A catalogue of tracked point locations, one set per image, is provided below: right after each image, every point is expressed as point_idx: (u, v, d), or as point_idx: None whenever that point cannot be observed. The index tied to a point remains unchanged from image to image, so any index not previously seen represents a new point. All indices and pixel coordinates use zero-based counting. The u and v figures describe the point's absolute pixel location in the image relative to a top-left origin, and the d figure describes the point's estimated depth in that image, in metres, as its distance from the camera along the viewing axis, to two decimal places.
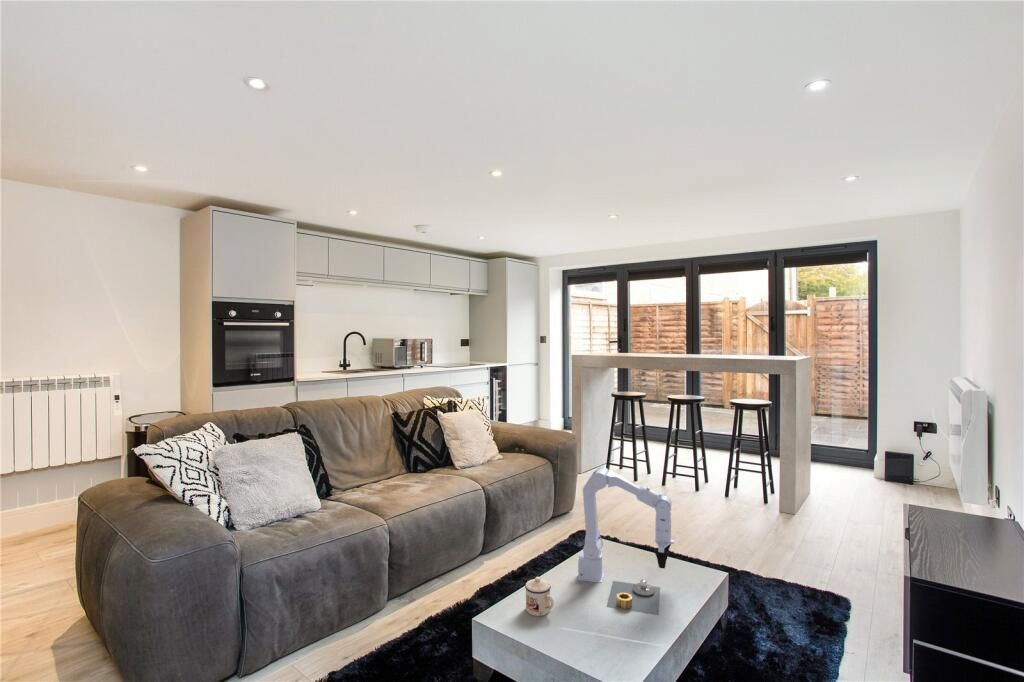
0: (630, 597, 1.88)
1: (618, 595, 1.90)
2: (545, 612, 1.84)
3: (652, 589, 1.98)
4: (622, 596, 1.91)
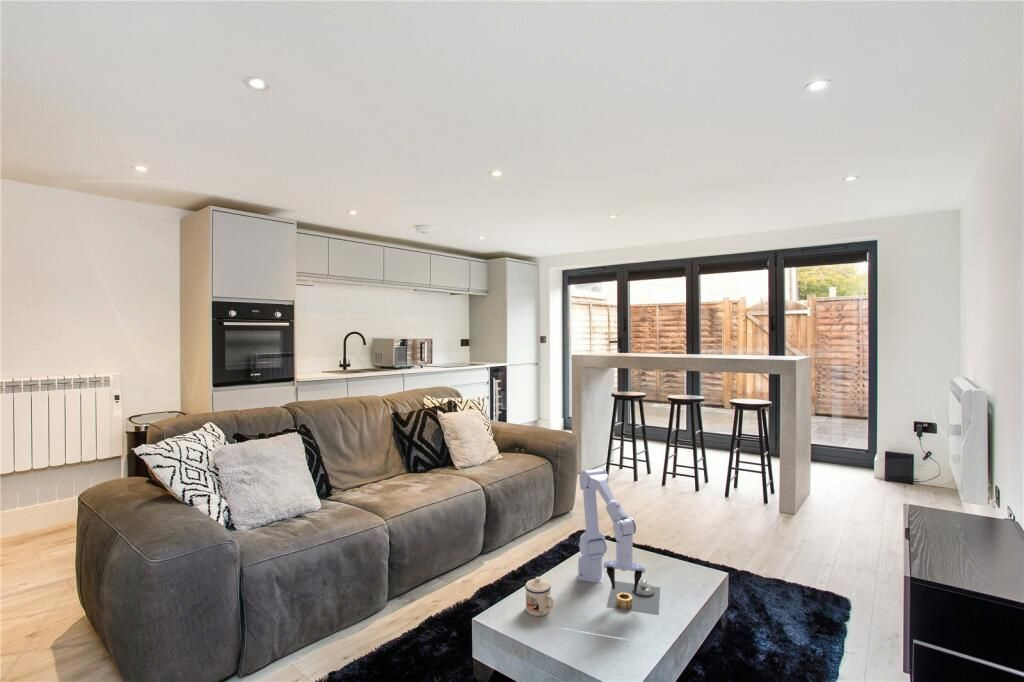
0: (630, 597, 1.88)
1: (618, 595, 1.90)
2: (545, 612, 1.84)
3: (652, 589, 1.98)
4: (622, 596, 1.91)
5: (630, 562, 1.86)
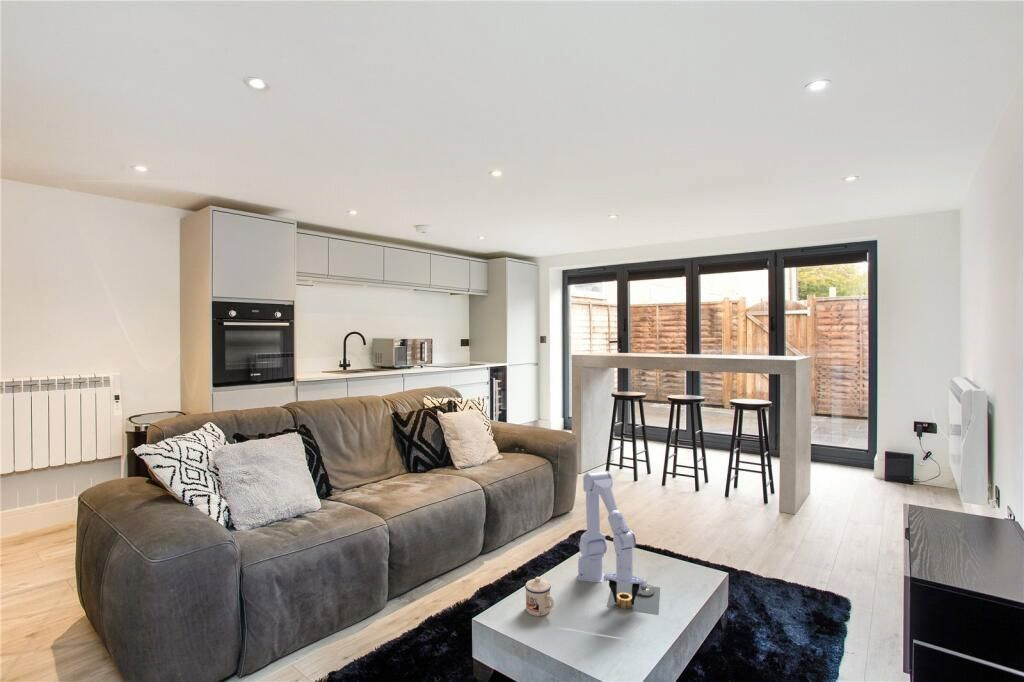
0: (630, 597, 1.88)
1: (618, 595, 1.90)
2: (545, 612, 1.84)
3: (652, 589, 1.98)
4: (622, 596, 1.91)
5: (630, 575, 1.87)
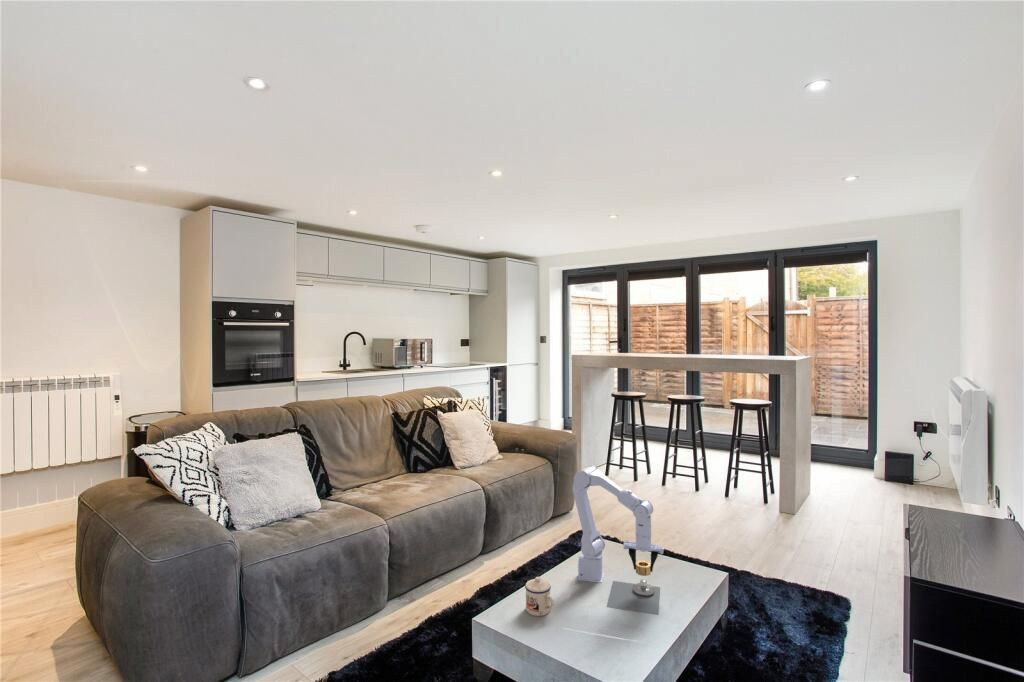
0: (649, 564, 1.97)
1: (637, 563, 1.99)
2: (545, 612, 1.84)
3: (652, 589, 1.98)
4: (641, 564, 2.00)
5: (649, 543, 1.96)
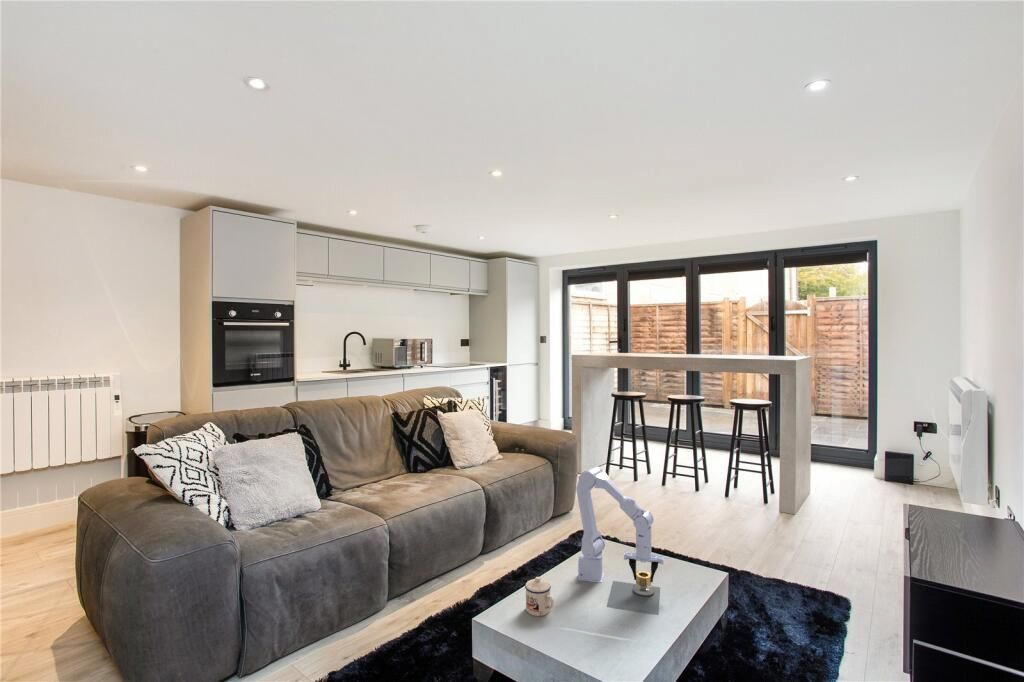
0: (649, 575, 1.98)
1: (637, 573, 1.99)
2: (545, 612, 1.84)
3: (652, 589, 1.98)
4: (641, 574, 2.00)
5: (649, 554, 1.96)
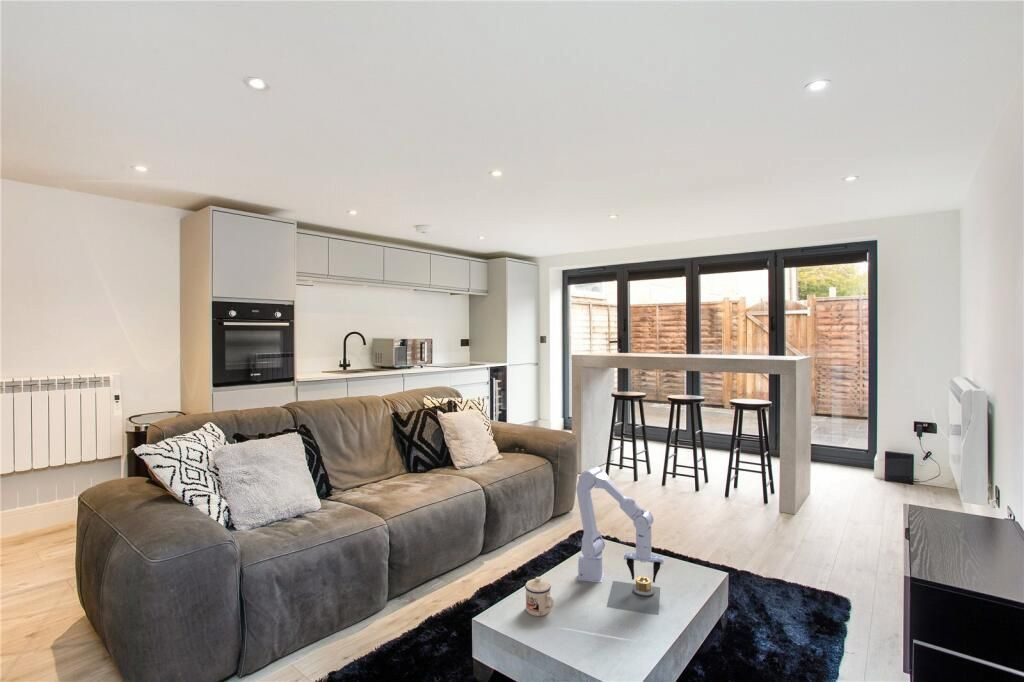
0: (649, 580, 1.98)
1: (637, 579, 1.99)
2: (545, 612, 1.84)
3: (652, 589, 1.98)
4: None
5: (649, 554, 1.96)
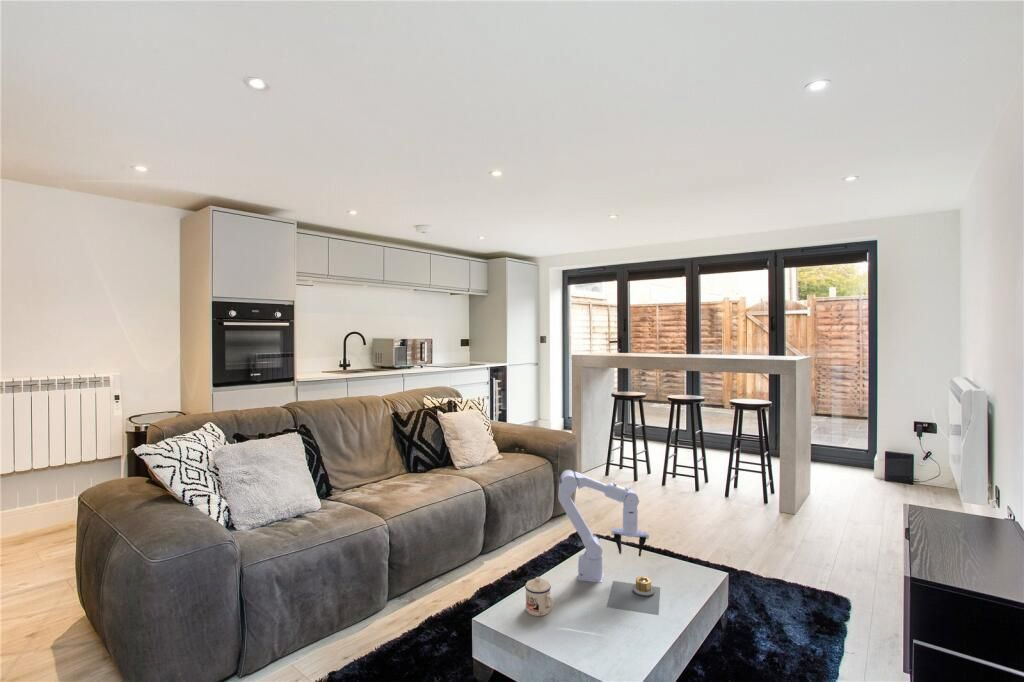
0: (649, 580, 1.98)
1: (637, 579, 1.99)
2: (545, 612, 1.84)
3: (652, 589, 1.98)
4: None
5: (635, 529, 2.07)
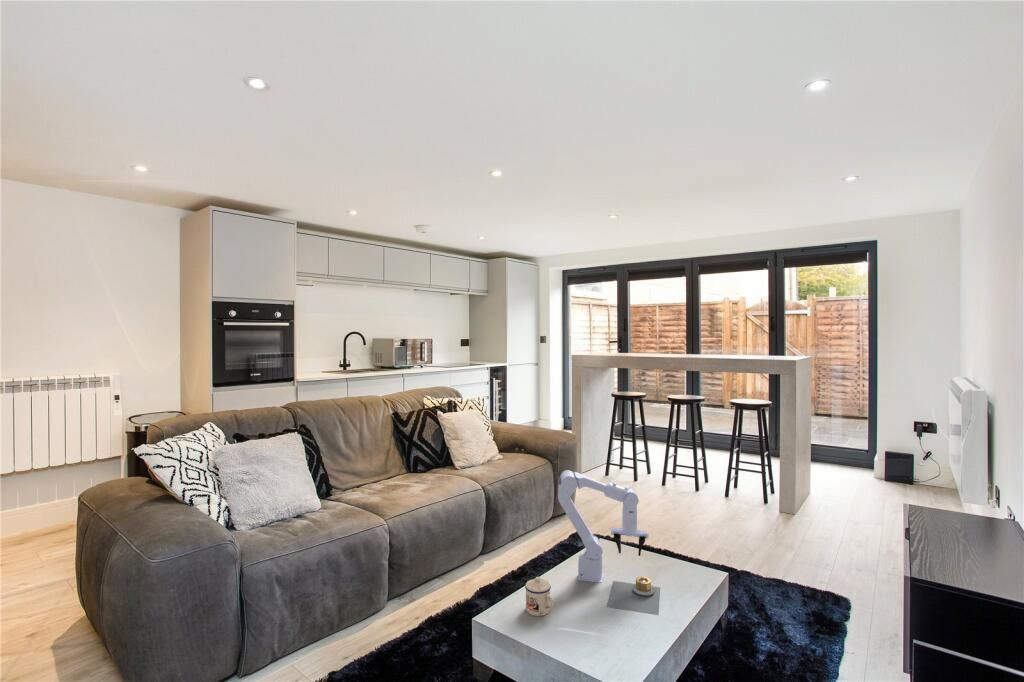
0: (649, 580, 1.98)
1: (637, 579, 1.99)
2: (545, 612, 1.84)
3: (652, 589, 1.98)
4: None
5: (635, 529, 2.07)
